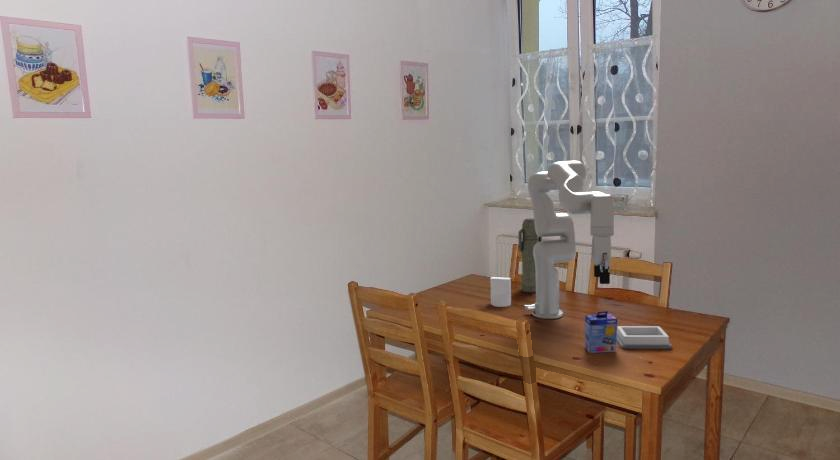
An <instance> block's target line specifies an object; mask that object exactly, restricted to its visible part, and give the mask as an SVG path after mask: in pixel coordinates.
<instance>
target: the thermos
mask: <svg viewBox="0 0 840 460" xmlns="http://www.w3.org/2000/svg"><path fill="white" fill-rule="evenodd" d="M517 237H518V251H519V252H520V256H521V257H522V258H521V260H522V261H521V264H522V265H521V269H522V270H521V272H522V274H521V277H520V279H521V280H520V282H521V283H520V285H521V291H522V292H524V293H531V292H532V293H536V269H535V260H534V255H533V248H534V245H535V244H536V243H538V242H540V241H543V237H540V236H538V235H537V234H536V231H535V224H534V218H525V219H523V222H522V224H521V229H519V231H518V236H517Z"/></svg>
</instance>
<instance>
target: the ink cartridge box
mask: <svg viewBox="0 0 840 460" xmlns="http://www.w3.org/2000/svg"><path fill="white" fill-rule="evenodd" d="M584 323H585V324H584V349H585V350H586V351H587V352H588V353H589V354H598V353H615V352H616V351H617V340H616V339H617V326H618V318H617V317H616V316H614V315H613V314H611V313H609V311H608V310H607V311H597V313H596V314H588V315H584Z"/></svg>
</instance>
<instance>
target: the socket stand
mask: <svg viewBox="0 0 840 460" xmlns="http://www.w3.org/2000/svg"><path fill="white" fill-rule="evenodd" d="M616 343H617V344H618V345H619V347H620V348H621V349H633V350H634V349H637V350H640V349H642V350H643V349H644V350H645V349H653V350H656V349H657V350H658V349H660V350H661V349H665V350H667V349H669V350H670V349H671V350H673V344H671V342H670V336H669V335H668V334H667V333H666V332H665V331H664V330H663V329H662V327H661V326H657V325H655V326H654V325H653V326H651V325H649V326H648V325H643V326H642V325H637V326H635V325H632V326H631V325H630V326H629V325H628V326H627V325H624V326H623V325H621V326H620V325H617V339H616Z"/></svg>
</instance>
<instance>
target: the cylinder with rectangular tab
mask: <svg viewBox="0 0 840 460" xmlns="http://www.w3.org/2000/svg"><path fill="white" fill-rule="evenodd" d="M489 279H490V280H489V281H490V304H491V306H492V305H493V307H495V308H496V307H498V308H505V307H509V306H511V305H512V290H511V289H512V285H511V284H512V283H511V282H512V278H511V277H503V276H502V277H500V276H492V277H490V278H489Z"/></svg>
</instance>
